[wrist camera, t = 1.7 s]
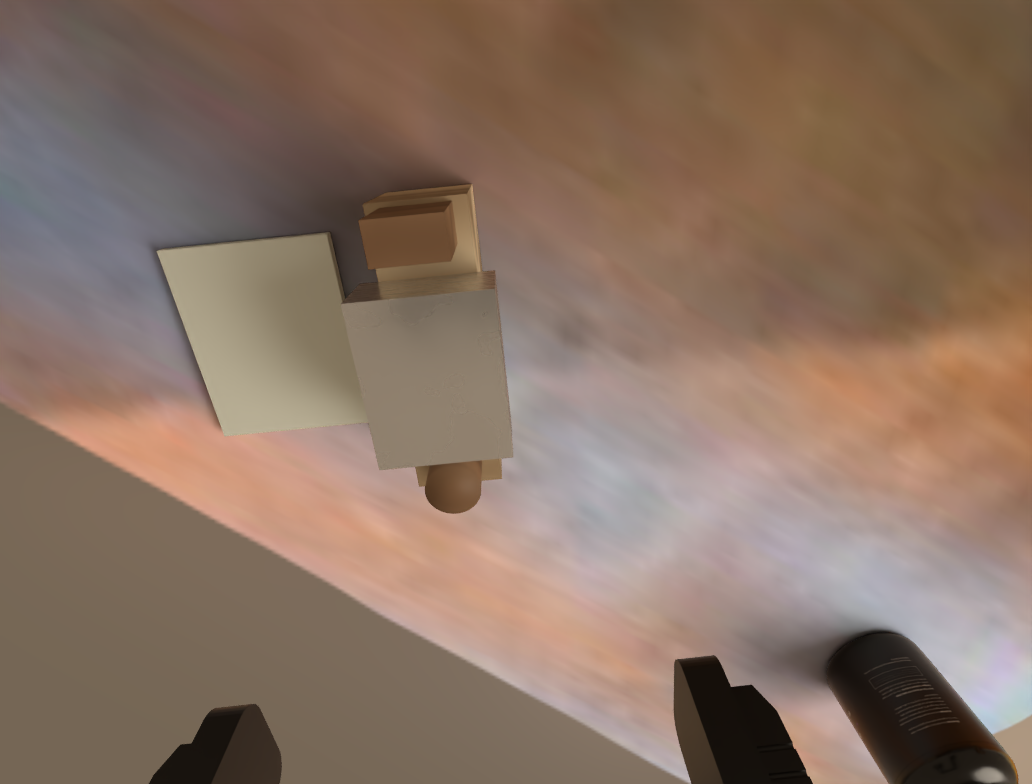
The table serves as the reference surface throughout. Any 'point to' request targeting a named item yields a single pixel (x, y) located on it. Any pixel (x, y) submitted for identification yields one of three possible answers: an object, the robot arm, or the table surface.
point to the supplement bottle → (913, 716)
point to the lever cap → (431, 368)
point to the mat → (268, 331)
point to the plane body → (426, 253)
